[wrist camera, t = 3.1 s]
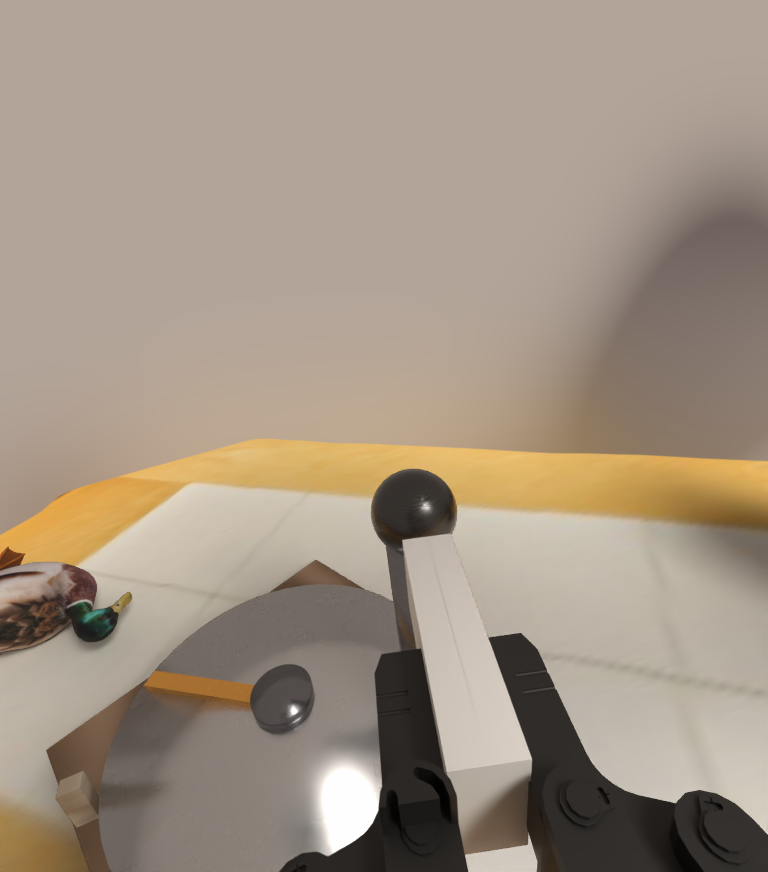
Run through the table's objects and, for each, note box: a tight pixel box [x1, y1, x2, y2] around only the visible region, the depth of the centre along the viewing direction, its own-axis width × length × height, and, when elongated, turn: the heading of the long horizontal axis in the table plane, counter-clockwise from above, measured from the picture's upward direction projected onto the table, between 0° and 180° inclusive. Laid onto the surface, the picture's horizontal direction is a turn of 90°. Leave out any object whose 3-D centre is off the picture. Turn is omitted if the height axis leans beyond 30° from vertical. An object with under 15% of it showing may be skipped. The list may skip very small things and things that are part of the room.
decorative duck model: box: [0, 546, 132, 652], centre depth 39 cm, size 15×8×15 cm
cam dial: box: [98, 469, 457, 872], centre depth 27 cm, size 23×22×19 cm
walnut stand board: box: [46, 560, 365, 872], centre depth 30 cm, size 24×24×4 cm
